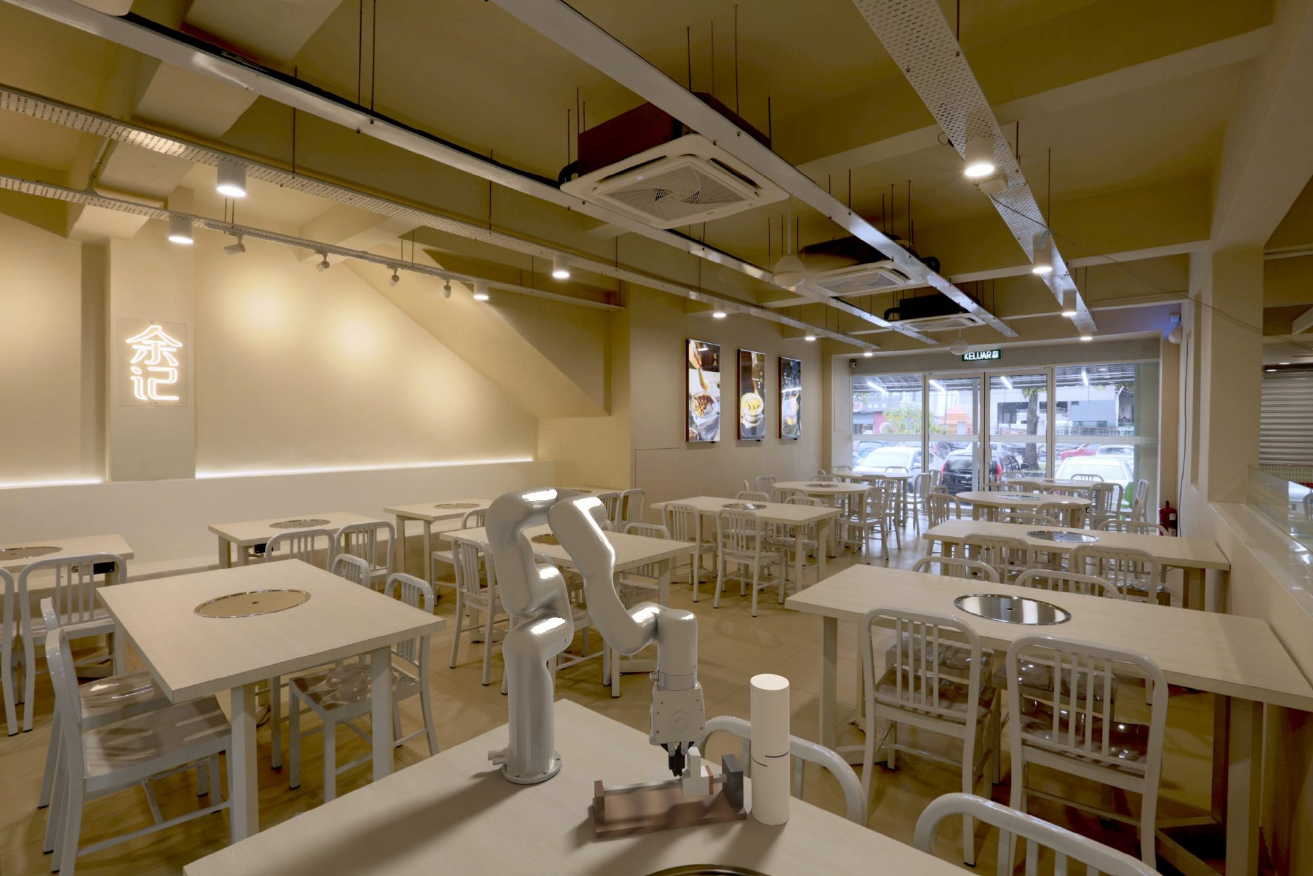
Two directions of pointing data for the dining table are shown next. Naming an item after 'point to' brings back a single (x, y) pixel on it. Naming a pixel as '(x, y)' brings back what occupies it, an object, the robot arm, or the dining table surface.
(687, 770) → the sleeve
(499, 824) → the dining table surface
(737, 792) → the rail
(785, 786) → the cylindrical container
